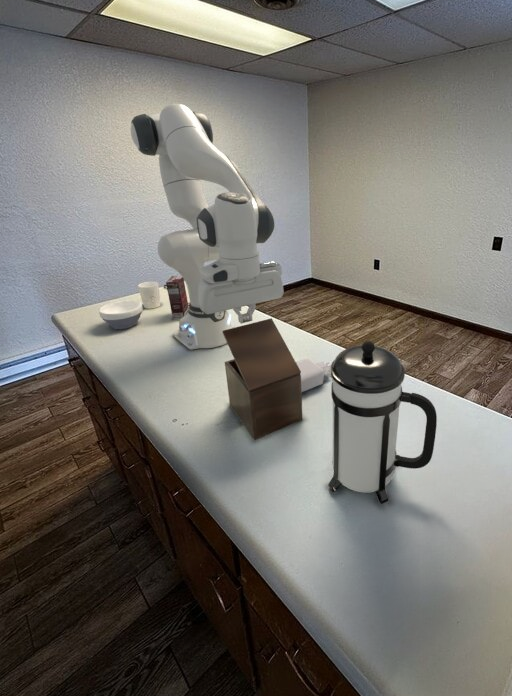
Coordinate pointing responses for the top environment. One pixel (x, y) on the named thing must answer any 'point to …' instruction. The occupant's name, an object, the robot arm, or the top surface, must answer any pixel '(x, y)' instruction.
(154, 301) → the white cup
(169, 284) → the supplement box
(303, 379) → the tissue pack
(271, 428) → the box
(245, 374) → the lid
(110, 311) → the bowl
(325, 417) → the top surface
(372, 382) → the coffee press
